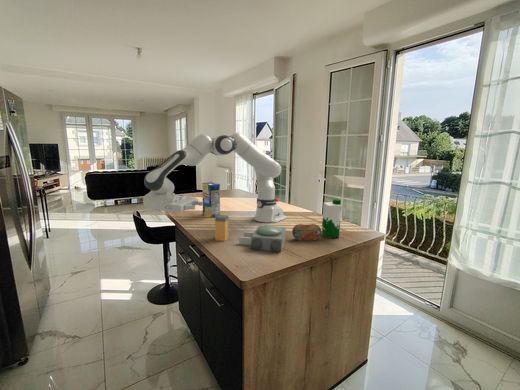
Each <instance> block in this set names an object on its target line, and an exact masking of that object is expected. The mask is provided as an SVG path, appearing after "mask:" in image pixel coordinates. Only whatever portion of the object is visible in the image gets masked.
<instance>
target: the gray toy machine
mask: <svg viewBox="0 0 520 390" xmlns="http://www.w3.org/2000/svg"><path fill="white" fill-rule="evenodd" d="M286 230H287V228H286V227H280V226H277V225H270V224H269V225H267V224H266V225H261V224H260V225H258V226H257V228H256V229H255V231H243V236H239V239H238V240H239V245H243V246H244V245H245V246H250V247H251V248H250V249H251V250H254V251H267V252H274V253H281V252H282V251H283V247H284V244H285V240H286V232H287V231H286Z"/></svg>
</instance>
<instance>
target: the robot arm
mask: <svg viewBox="0 0 520 390" xmlns="http://www.w3.org/2000/svg"><path fill="white" fill-rule="evenodd" d="M232 152H234V153H235V154H236V155H238V156H239V157H240V159H242V160H244V162H246V163H247V164H248V165H250V166H251V167H253V169H254V172H255V177H256V182H257V198H256V210H255V215H254V220H255V221H257V222H260V223H275V224H276V223H278V222H281V221H284V220H286V219H287V218H288V217H287V216H286V215H284V210H283V207H281V206H279V205H278V204H277V202H280V198H275V197H276V194H275V193H276V186H275V184H274V179H275V178H278V177H279V176H280V175H281V173H282V166H281V164H280V163H279V162H277V161H276V160H275V159H273V158H272V157H271V156H269V155H268V154H266V153H265V152H263V151H262V150H261V149H260V148H259V147H258V146H256V145H255V144H254V143H253V142H252V141H251V140H250V139H249V138H248V137H246V136H245V135H243V134H241V133H240V132H234V133H232V134H231V135H227V134H222V135H217V136H214V137H210V136H209V135H207V134H205V133H201V134H198V135H197V136H195V138H194V139H192V140H190V142H189V143H188V144H186V146H185V147H184V148H183V149H179V150H177V151H175V152H173V153H172V154H171V155H169V156H168V157H167V159H165V160H164V161H163V162H161V163H160V164H159V165H158V166H157V167H155V168H153V169H152V170H150V171H148V172H147V173H146V175H145V176H144V179H143V182H144V183H143V184H144V186H145V187H146V189H149V190H150V191H149V192H148V193H147V194H145V195H143V198H142V202H143V205H144V207H145V208H146V209H147V210H151V211H156V212H162V211H164V212H166V213H167V212H168V213H183V212H185V211H189V210H192V211H193V210H196V206H199V207H200V206H202V207H203V201H199V199H198V198H197V197H193V196H186V195H184V194H183V195H182V194H179V195H176V194H174V193H175V188H176V187H175V185H174V183H173V182H172V181H171V180H170V179H169V178H168V177H167V176H168V175H169V174H171V172H173V171H174V170H175V169H176V168H177V167H178V166H182V165H186V166H190V167H194V166H195V167H196V166H197V165H198V164H200V163H201V162H202V161H203V160H204V158H205V157H206V156H207V155H209V153H210V154H212V155H215V156H225V155H229V154H231V153H232Z"/></svg>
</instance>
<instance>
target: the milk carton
mask: <svg viewBox="0 0 520 390" xmlns="http://www.w3.org/2000/svg"><path fill="white" fill-rule="evenodd" d="M341 202H342V201H341V199H337V198H335V199H332V202H331V201H328V202H326V201H325V202H323V206H322V207H323V210H322V224H321V231H322V233H321V235H322V236H323V237H325V238H326V237H339V238H340V229H341V219H342V218H341V217H342V210H343V205H342V203H341Z"/></svg>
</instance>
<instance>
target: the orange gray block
mask: <svg viewBox="0 0 520 390" xmlns="http://www.w3.org/2000/svg"><path fill="white" fill-rule="evenodd" d="M214 221H215V223H214V224H215V225H214V226H215V228H214V229H215V241H219V242H220V241H221V242H226V241H227V239H229V215H227V214H226V215H225V214H220V215H218V216H216V217H215V220H214Z"/></svg>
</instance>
